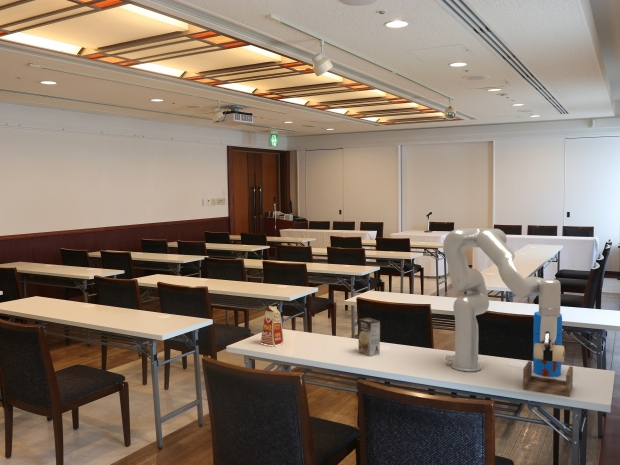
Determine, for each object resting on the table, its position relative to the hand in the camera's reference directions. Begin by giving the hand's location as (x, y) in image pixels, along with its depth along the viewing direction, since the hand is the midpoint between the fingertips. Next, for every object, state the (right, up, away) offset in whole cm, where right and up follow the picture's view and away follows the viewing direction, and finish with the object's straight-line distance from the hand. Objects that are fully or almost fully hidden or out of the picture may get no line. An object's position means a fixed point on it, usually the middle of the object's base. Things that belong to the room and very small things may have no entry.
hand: (549, 358), depth 211 cm
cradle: (0, -12, +1) cm, 12 cm away
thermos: (+8, -11, +20) cm, 24 cm away
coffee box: (-63, -10, +51) cm, 82 cm away
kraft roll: (0, -1, 0) cm, 1 cm away
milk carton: (-110, -9, +70) cm, 131 cm away
